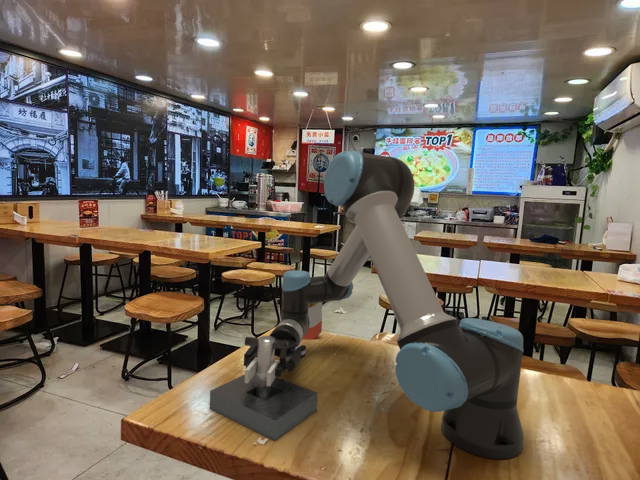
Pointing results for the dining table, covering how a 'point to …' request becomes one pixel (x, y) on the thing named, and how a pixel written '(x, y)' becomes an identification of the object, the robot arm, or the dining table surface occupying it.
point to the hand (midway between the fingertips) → (257, 377)
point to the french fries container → (314, 320)
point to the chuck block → (264, 405)
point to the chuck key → (265, 362)
